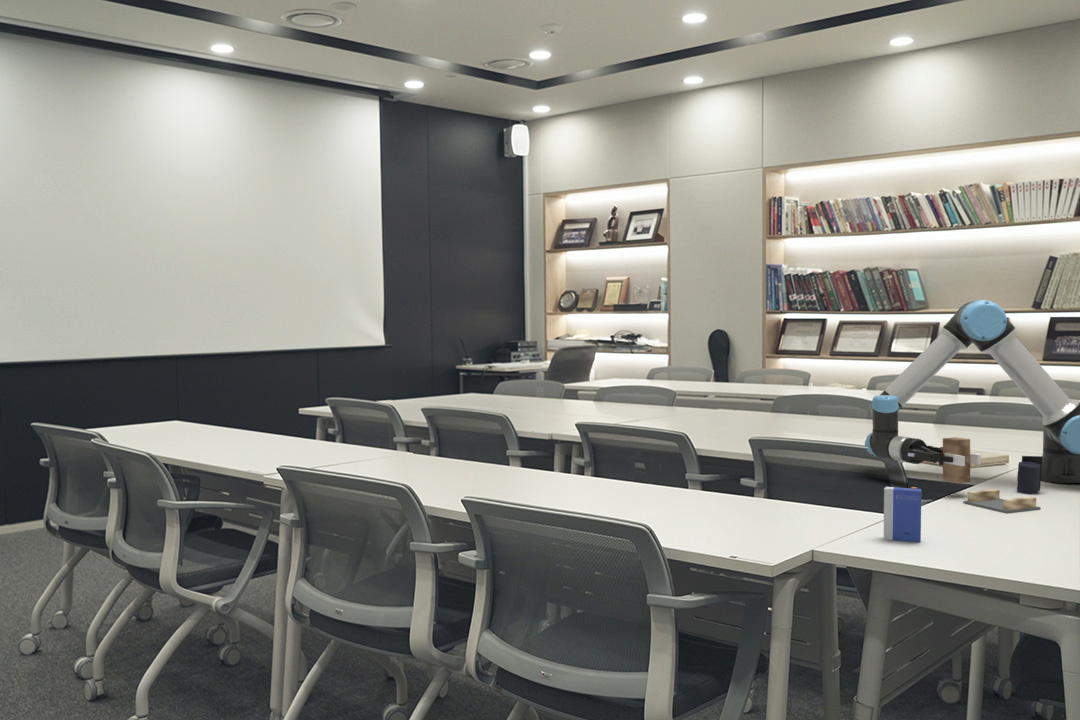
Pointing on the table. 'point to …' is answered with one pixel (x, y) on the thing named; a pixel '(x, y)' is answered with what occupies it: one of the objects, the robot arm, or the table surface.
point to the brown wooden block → (955, 471)
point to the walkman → (902, 514)
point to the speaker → (1029, 474)
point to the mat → (997, 506)
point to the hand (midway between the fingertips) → (971, 460)
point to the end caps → (1007, 503)
